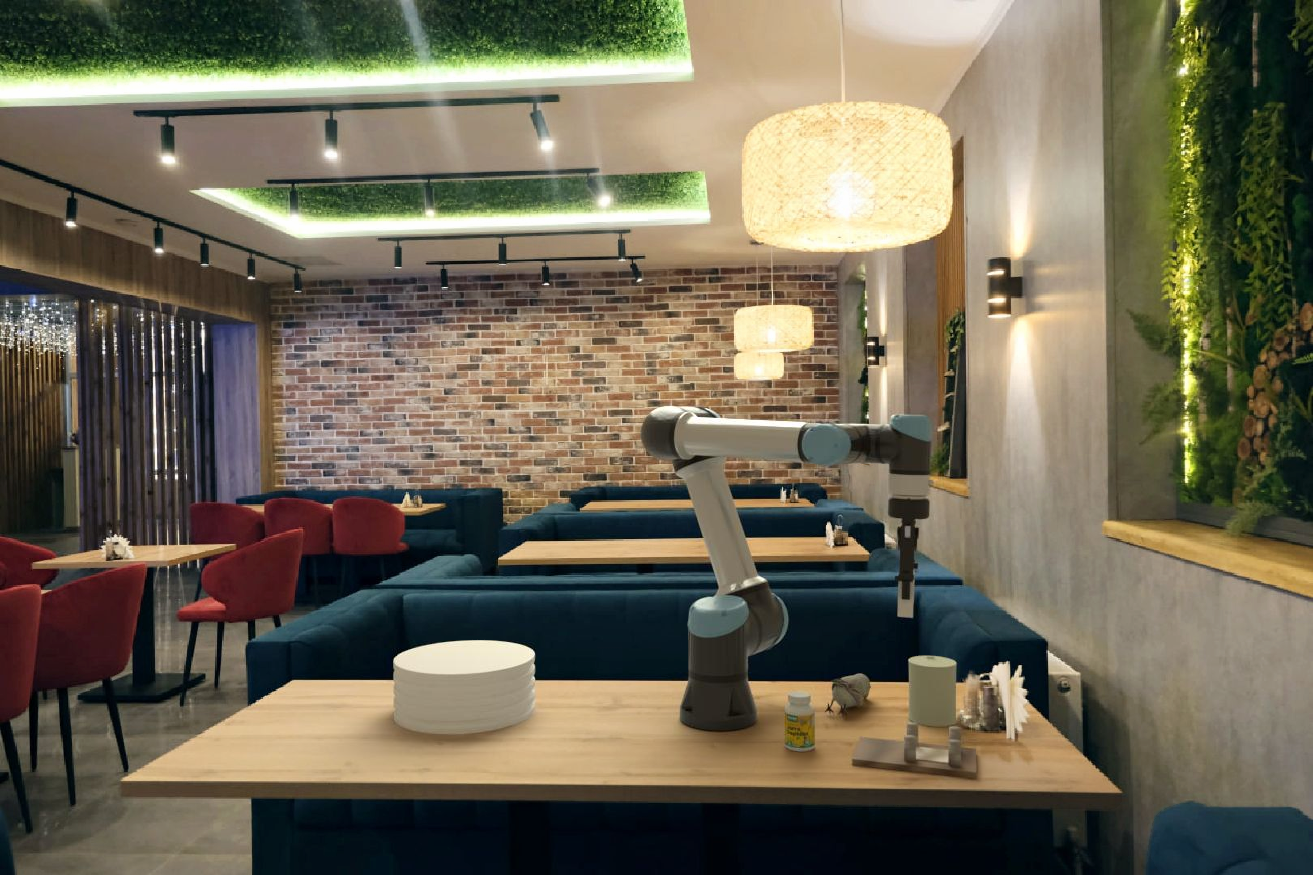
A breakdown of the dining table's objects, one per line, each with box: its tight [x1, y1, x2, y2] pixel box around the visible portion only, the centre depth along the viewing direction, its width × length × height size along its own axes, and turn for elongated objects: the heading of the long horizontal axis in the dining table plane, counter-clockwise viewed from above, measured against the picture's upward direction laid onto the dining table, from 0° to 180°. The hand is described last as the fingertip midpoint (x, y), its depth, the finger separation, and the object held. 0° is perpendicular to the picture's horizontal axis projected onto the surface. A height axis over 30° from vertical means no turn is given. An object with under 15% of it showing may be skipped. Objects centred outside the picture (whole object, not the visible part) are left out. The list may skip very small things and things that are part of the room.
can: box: [907, 655, 958, 728], centre depth 184 cm, size 9×9×12 cm
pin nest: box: [851, 721, 977, 780], centre depth 162 cm, size 20×12×5 cm, turn 71°
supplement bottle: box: [784, 690, 816, 753], centre depth 168 cm, size 5×5×10 cm
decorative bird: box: [824, 673, 872, 717], centre depth 192 cm, size 5×16×8 cm, turn 145°
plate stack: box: [392, 639, 536, 735], centre depth 190 cm, size 28×28×12 cm
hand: (905, 609), depth 176 cm, fingers open, 13 cm apart
